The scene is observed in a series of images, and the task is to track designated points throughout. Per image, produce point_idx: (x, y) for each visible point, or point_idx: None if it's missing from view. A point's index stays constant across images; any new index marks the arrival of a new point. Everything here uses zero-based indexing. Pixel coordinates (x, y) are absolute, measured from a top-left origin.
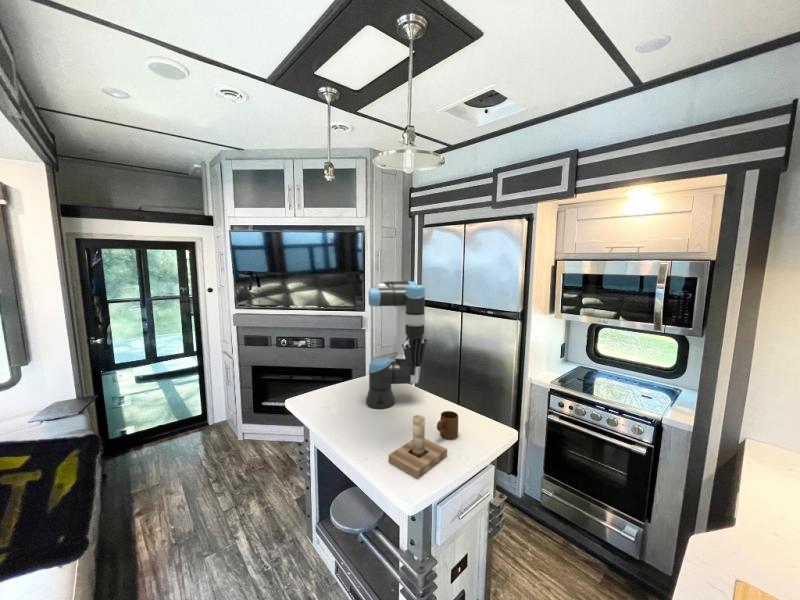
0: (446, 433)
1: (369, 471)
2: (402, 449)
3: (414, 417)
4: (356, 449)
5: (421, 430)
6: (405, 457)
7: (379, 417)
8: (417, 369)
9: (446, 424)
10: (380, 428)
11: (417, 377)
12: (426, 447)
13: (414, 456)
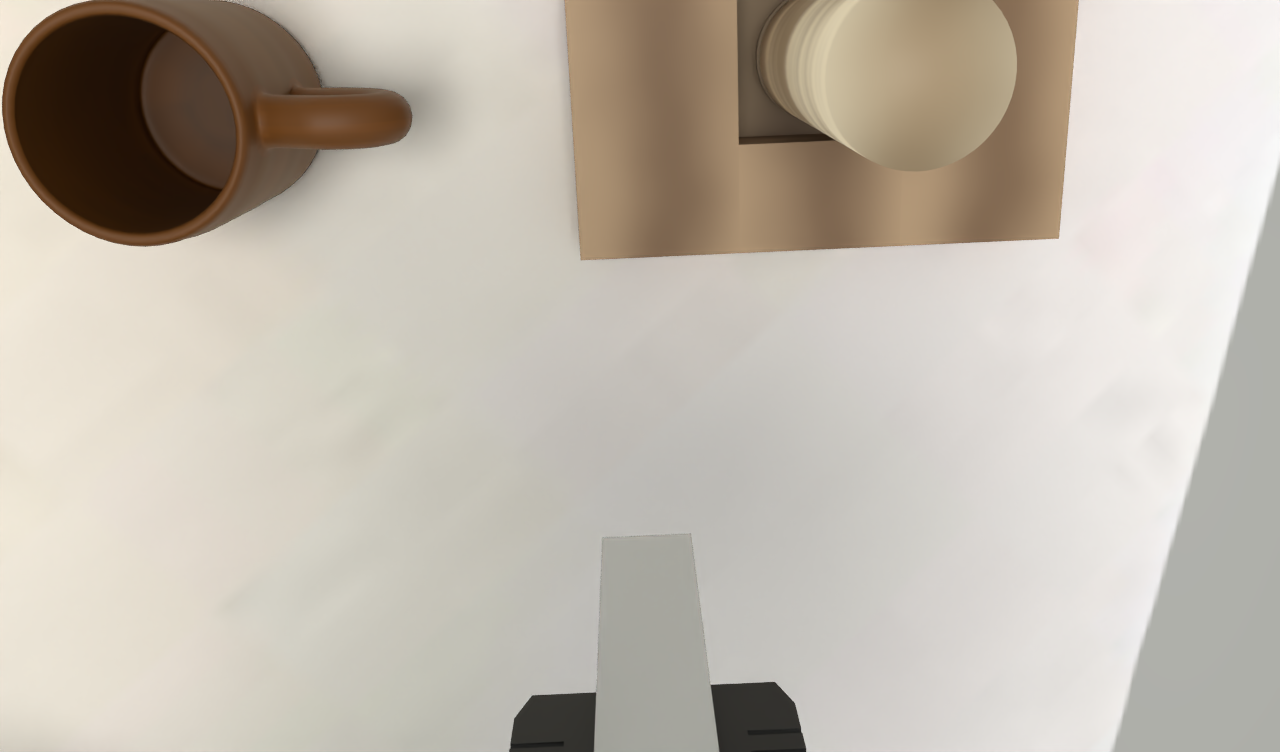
0: (300, 74)
1: (1232, 248)
2: (899, 205)
3: (952, 136)
4: (1061, 560)
5: None
6: None
7: None
8: (637, 750)
9: (267, 83)
10: None
11: (633, 604)
12: (699, 45)
13: None
